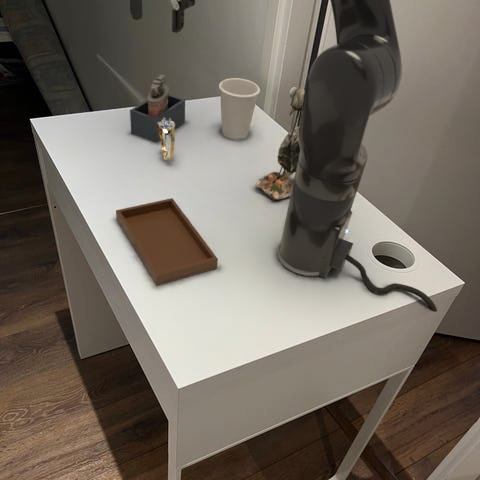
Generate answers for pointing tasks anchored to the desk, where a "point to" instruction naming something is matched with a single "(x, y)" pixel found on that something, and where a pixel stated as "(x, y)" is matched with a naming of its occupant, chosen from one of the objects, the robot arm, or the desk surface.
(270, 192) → the plant with pod
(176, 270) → the tray
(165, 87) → the lighter
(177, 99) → the box
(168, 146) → the ring
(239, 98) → the dixie cup
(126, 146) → the desk surface
